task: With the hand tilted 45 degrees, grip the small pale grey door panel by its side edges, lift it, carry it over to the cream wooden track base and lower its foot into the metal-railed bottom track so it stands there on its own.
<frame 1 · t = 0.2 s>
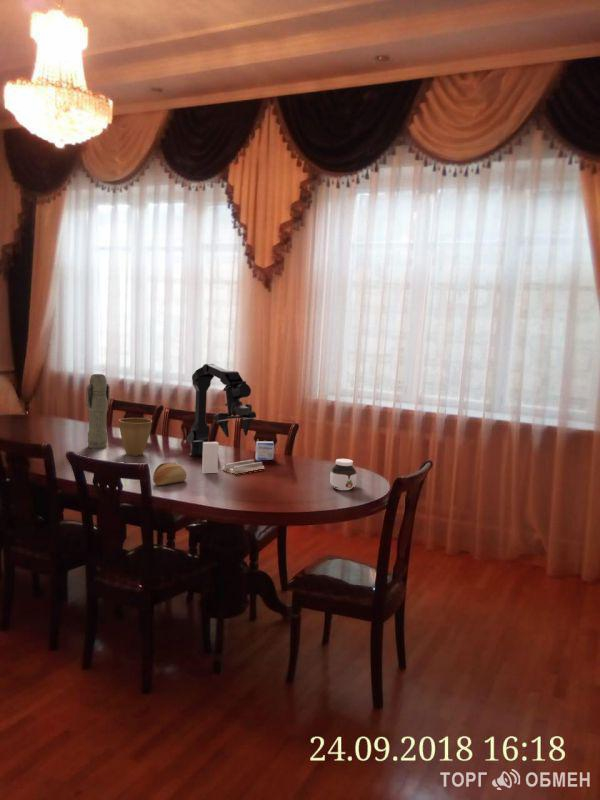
hand: (236, 436, 267), 15 cm above the table, tool tilted 15°, fingers open, 9 cm apart
bread roll: (169, 483, 246), on the table
spread jar: (343, 488, 253), on the table
medicine box: (264, 460, 293), on the table
track base: (243, 469, 273), on the table
plant pot: (135, 454, 291), on the table
door panel: (209, 472, 265), on the table
stone statue: (97, 447, 301), on the table
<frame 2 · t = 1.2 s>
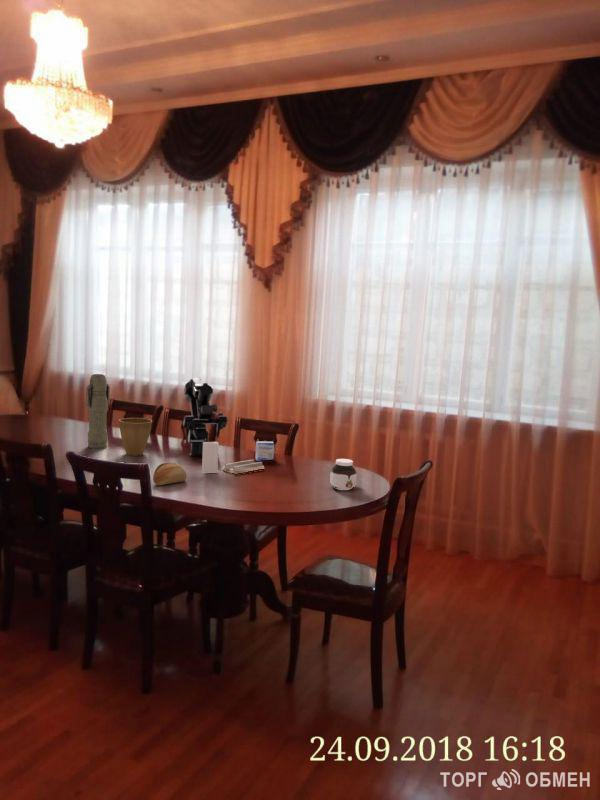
hand: (207, 437, 271), 13 cm above the table, tool tilted 45°, fingers open, 9 cm apart
nothing on the table moved.
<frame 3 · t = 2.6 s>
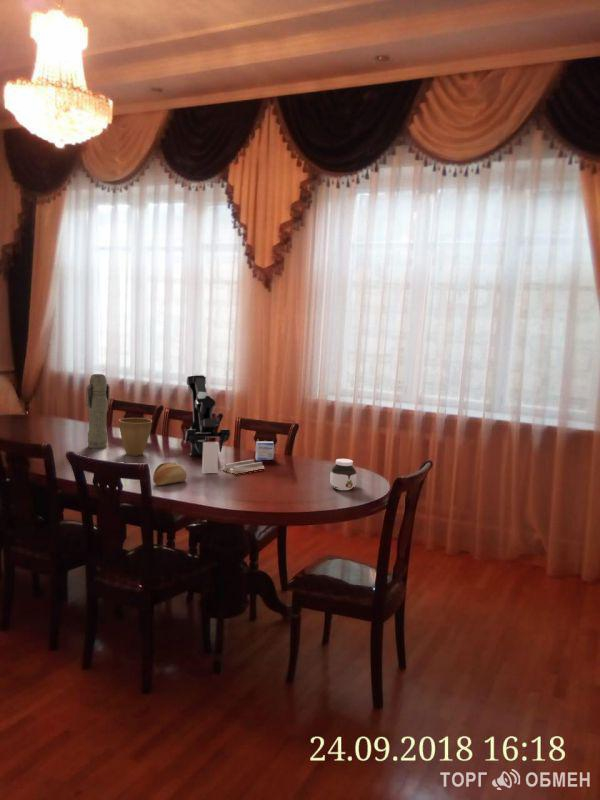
hand: (209, 451, 265), 9 cm above the table, tool tilted 45°, fingers open, 9 cm apart
nothing on the table moved.
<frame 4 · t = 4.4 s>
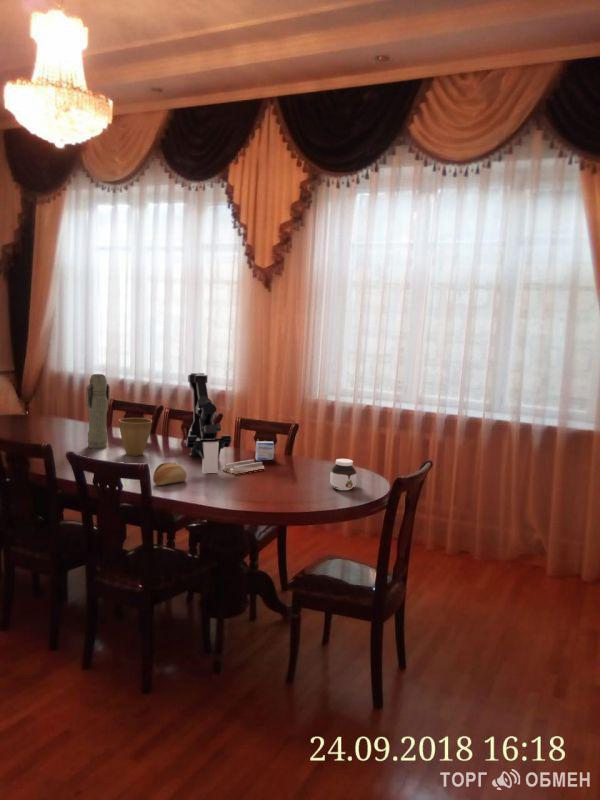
hand: (210, 458, 263), 7 cm above the table, tool tilted 45°, fingers closed on door panel, 6 cm apart
door panel: (209, 472, 265), on the table, touching gripper
everything else where it was.
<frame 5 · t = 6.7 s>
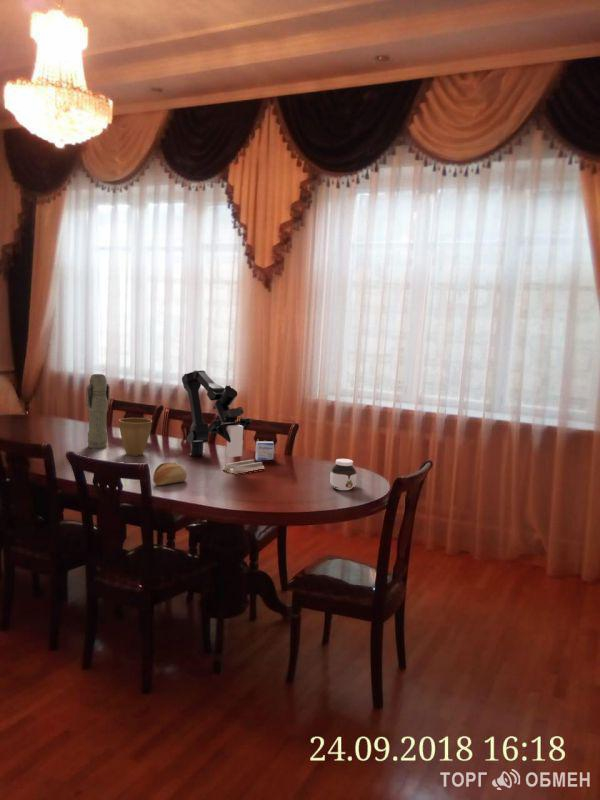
hand: (236, 441, 267), 13 cm above the table, tool tilted 45°, fingers closed on door panel, 6 cm apart
door panel: (234, 455, 269), point 7 cm above the table, touching gripper
everything else where it was.
when the fingers open (8 cm above the table, at t = 9.3 s): door panel stays where it is, resting on track base.
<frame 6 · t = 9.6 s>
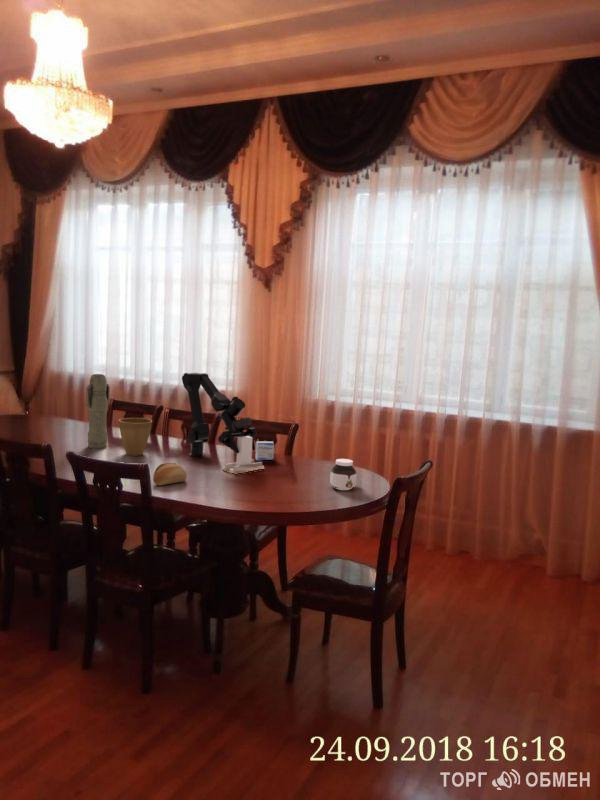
hand: (246, 451, 271), 9 cm above the table, tool tilted 45°, fingers open, 9 cm apart
door panel: (243, 466, 272), point 1 cm above the table, touching track base
everything else where it was.
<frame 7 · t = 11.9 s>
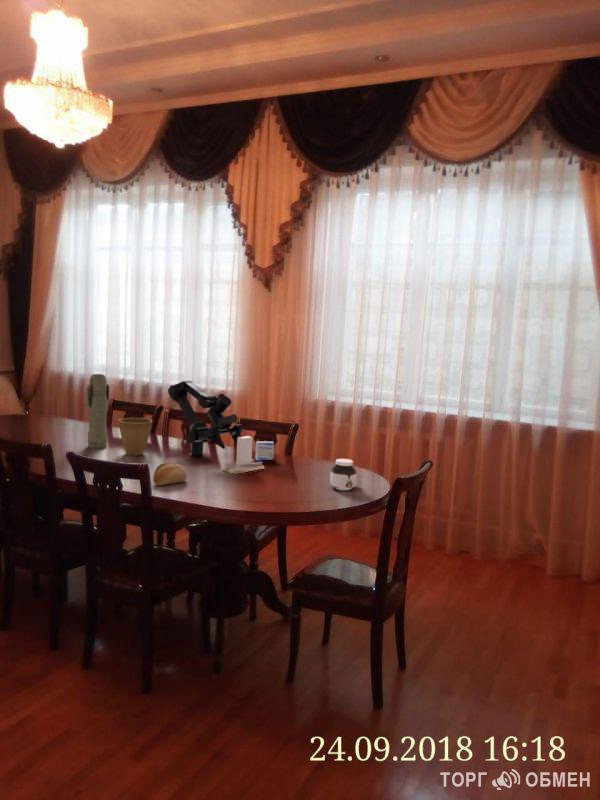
hand: (232, 447, 277), 9 cm above the table, tool tilted 45°, fingers open, 9 cm apart
nothing on the table moved.
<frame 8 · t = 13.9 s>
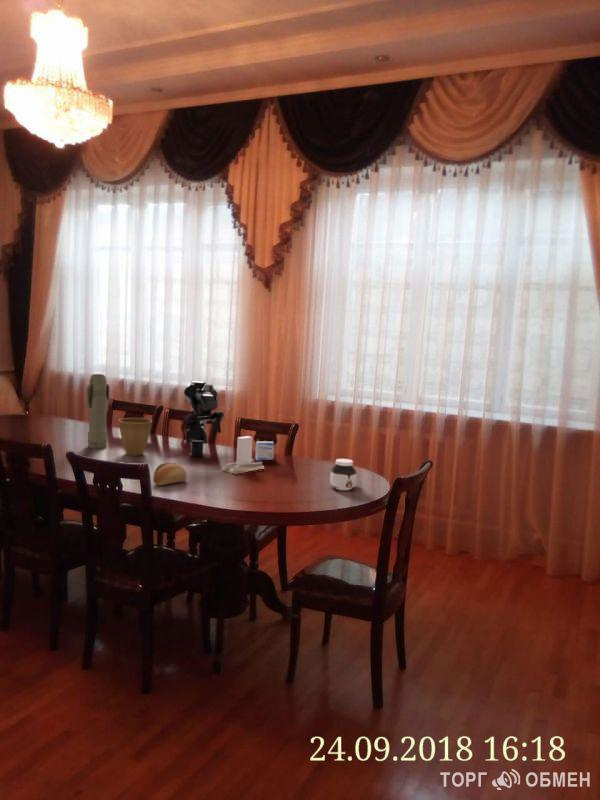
hand: (212, 433, 279), 14 cm above the table, tool tilted 45°, fingers open, 9 cm apart
nothing on the table moved.
at the end: door panel 0.0 cm off-centre on the track base, point 1.5 cm above the track base's base; door panel tilted 0°; the gripper is holding nothing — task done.
